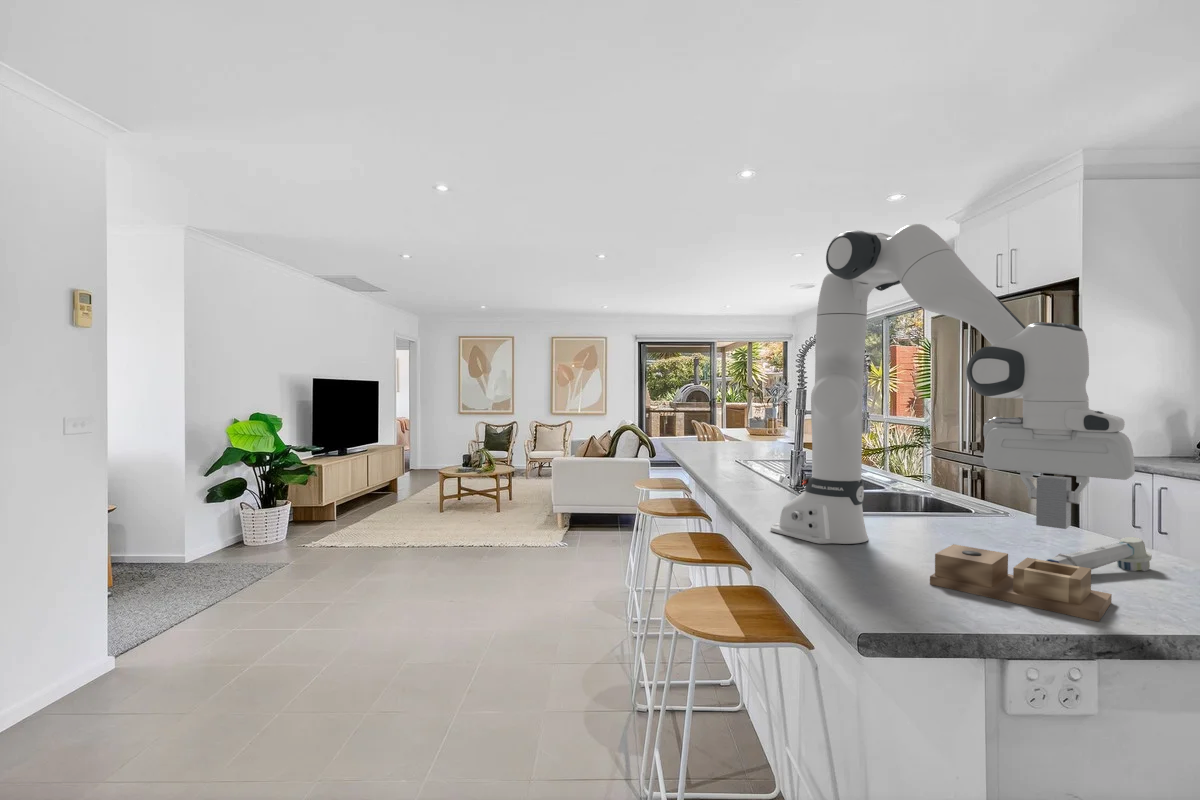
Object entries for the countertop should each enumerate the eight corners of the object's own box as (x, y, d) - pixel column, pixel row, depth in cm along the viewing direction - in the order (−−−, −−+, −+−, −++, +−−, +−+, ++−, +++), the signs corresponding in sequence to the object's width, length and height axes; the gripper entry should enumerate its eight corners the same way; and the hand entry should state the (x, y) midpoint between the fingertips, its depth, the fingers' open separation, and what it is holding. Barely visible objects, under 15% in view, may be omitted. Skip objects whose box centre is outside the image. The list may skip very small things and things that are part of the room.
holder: (929, 584, 110) (930, 553, 110) (952, 570, 118) (952, 542, 118) (1098, 621, 93) (1099, 585, 93) (1111, 602, 101) (1112, 569, 101)
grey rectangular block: (1036, 525, 102) (1036, 477, 102) (1041, 521, 105) (1042, 475, 104) (1065, 529, 99) (1066, 480, 99) (1070, 525, 102) (1071, 477, 101)
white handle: (1037, 555, 116) (1126, 528, 124) (1040, 588, 117) (1129, 560, 124) (1065, 562, 111) (1157, 534, 119) (1068, 597, 112) (1159, 567, 119)
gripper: (978, 417, 107) (977, 495, 107) (1131, 421, 92) (1130, 512, 92) (988, 415, 111) (988, 491, 111) (1137, 419, 96) (1135, 506, 96)
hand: (1053, 500), depth 102 cm, fingers closed on grey rectangular block, 4 cm apart
